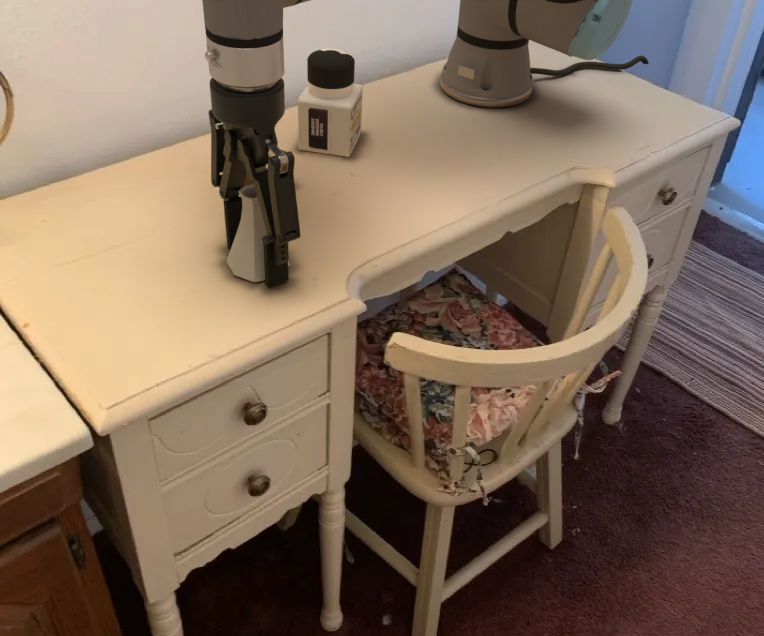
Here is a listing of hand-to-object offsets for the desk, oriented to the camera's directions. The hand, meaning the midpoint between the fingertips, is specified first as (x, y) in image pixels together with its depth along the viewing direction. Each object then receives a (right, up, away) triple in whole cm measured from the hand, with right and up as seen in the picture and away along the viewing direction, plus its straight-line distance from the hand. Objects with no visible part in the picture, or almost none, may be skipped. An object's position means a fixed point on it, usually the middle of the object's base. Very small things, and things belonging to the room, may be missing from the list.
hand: (257, 263), depth 100 cm
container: (+7, +22, +24) cm, 33 cm away
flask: (0, 0, 0) cm, 1 cm away
